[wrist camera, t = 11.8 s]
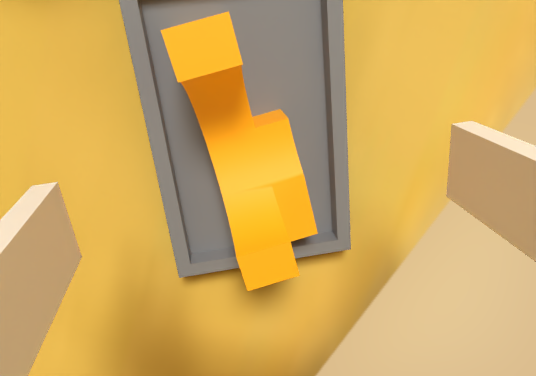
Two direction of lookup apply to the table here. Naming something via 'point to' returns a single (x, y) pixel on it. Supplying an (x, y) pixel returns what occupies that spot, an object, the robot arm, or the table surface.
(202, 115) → the pipe clamp
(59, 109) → the table surface
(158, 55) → the tray
